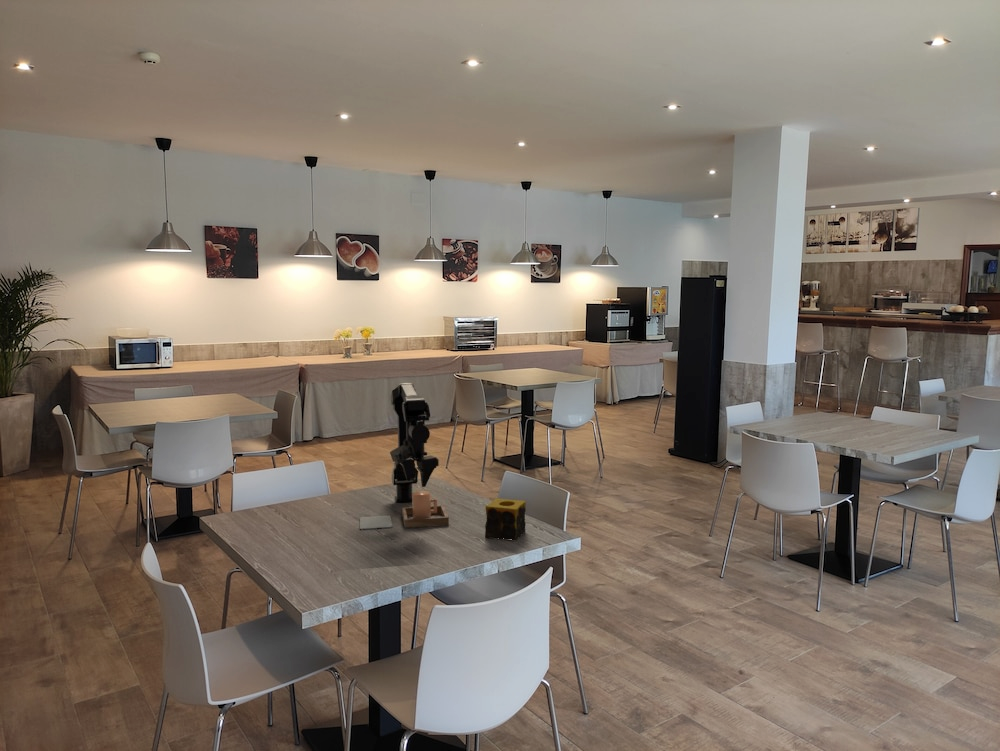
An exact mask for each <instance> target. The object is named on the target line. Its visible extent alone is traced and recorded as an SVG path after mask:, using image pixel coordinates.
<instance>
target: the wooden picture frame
mask: <svg viewBox="0 0 1000 751" xmlns="http://www.w3.org/2000/svg"><path fill="white" fill-rule="evenodd" d="M431 510H434V505H431ZM438 513H439V514H441V516H435V517H433V516H432V517H431V518H417V519H413V518H408V516H413V510H412V506H409V507H408V506H407V507H401V515H402V516H401V517H402V521H403V526H404V528H405V529H407V528H406V527H411V528H419V527H420V528H421V527H422V528H423V526H426V527H437V526H440V525H441V526H449V525H450V524H449V523H450V520H449V515H448V512H447V511H446V508H445V506H444V505H443V504H440V505H438V504H437V513H431V515H435V514H436V515H437V514H438ZM439 514H438V515H439Z"/></svg>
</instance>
